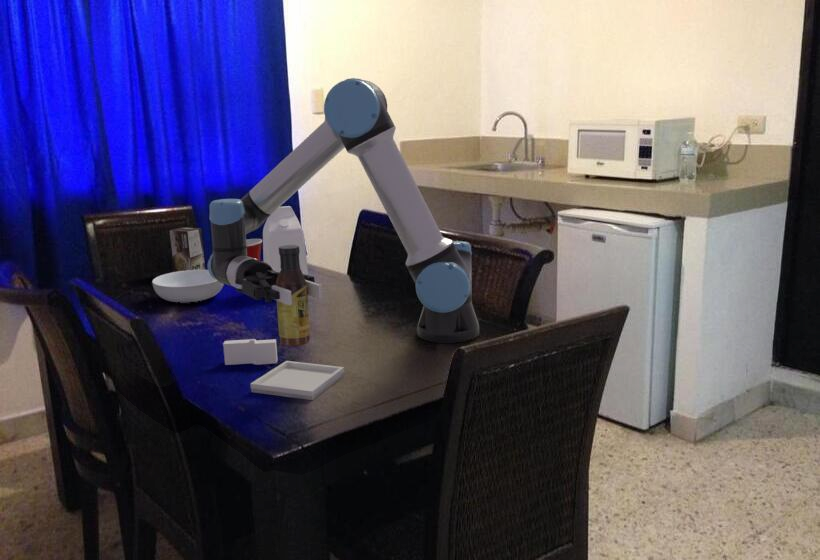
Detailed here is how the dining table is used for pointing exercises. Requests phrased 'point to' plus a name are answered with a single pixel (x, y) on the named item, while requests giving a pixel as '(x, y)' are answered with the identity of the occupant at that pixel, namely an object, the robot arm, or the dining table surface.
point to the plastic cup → (253, 248)
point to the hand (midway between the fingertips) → (305, 294)
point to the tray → (298, 380)
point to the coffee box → (187, 249)
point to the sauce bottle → (293, 299)
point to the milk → (283, 237)
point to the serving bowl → (186, 286)
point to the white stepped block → (250, 351)
